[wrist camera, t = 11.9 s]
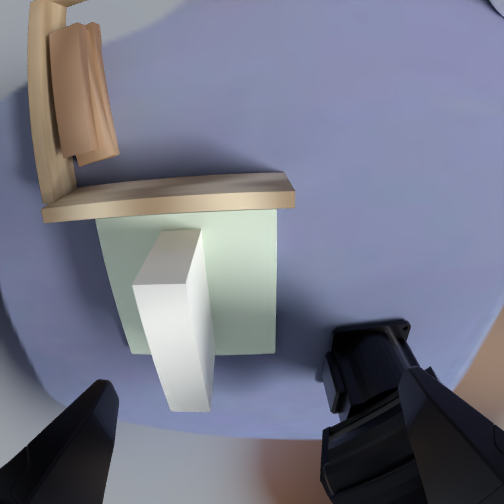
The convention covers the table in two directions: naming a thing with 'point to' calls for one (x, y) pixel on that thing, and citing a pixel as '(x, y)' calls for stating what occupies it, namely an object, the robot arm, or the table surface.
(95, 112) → the offcut stack
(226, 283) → the mat
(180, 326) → the white block
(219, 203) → the rack
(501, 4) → the drinking glass
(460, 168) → the table surface
